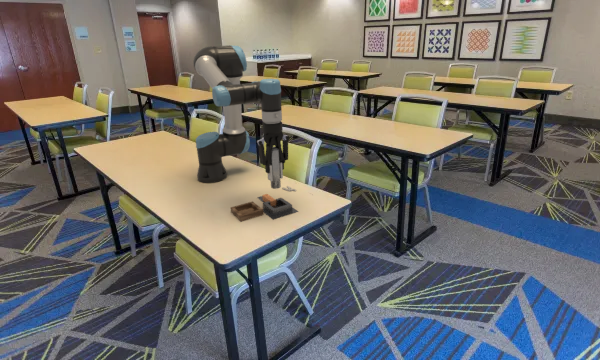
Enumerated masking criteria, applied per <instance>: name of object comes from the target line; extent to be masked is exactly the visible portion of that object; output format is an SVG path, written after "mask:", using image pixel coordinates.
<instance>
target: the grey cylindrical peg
mask: <svg viewBox="0 0 600 360" xmlns="http://www.w3.org/2000/svg"><path fill="white" fill-rule="evenodd" d="M270 165H272V177H273V181H270V188H271V189H275V190H278V189H280V188H281V186H282V185H281V183H282V182H281V178H280V161H279V149H278V147H276V146H273V149H272V152H271V160H270Z"/></svg>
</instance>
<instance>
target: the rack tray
mask: <svg viewBox="0 0 600 360" xmlns="http://www.w3.org/2000/svg"><path fill="white" fill-rule="evenodd" d="M230 213H231V214H232V215H233V216H234V217H236V219H237V220H238V221H240V222H245V221H248V220H251V219H254V218H258V217H261V216H264V215H265V213H264V212H263V207H260V205H258V204H257V203H255V202H254V201H253V200H252V201H249V202H245V203H242V204H239V205H235V206H230Z"/></svg>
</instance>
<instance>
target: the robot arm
mask: <svg viewBox="0 0 600 360" xmlns="http://www.w3.org/2000/svg"><path fill="white" fill-rule="evenodd" d="M194 55H195V56H194V58H193V63H192V64H193V68H194V70H195V72H196V74H198V76H200V77H202V78H203V79H204V80H205V81H206V83H207V84H208V86H209V87H210V88H211V92H212V93H211V96H212V100H213V103H214V105H215V106H216V107H223V116H224V127H223V128H222V130H221V131H222V133H220V134H219V132H218V131H208V132H204V133H202V134H200V135H197V137H196V138H195V148H196V154H197V159H198V160H197V161H198V168H197V173H196V174H197V175H196V176H197V178H196V179H197V181H198V182H199V183H204V184H209V183H210V184H211V183H218V182H221V181H224V180H225V179H227V177H228V171H227V170H226V168H225V166H224V164H223V159H222V158H223V157H229V156H235V155H241V154H245V153H247V152H248V151H249V148H250V144H251V141H250V134H249V132H248V131H247V130H246V128H245V127H244V126H243V118H242V105H248V104H254V103H255V104H256V103H260V106H261V109H260V110H261V120H262V123H261V124H262V133H263V135H262V138H260V139H257V140H256V141H255V142H256V144H257V146H258V153H259V163H260V164H261V165H262V166H264V168H265V173H266V174H267V180H268V181H270V182H271V181H273V177H272V165H270V160H271V152H272V149H273V147H278V149H279V161H280V180H281V179H283V178H284V174H283V170H285V163H286V161H289V140H290V136H289V135H287V134H284V133H283V113H282V111H283V110H282V88H281V81H280V80H279V79H278V78H264V79H263V78H262V79H261V80H260V81H259V80H258V81H257V80H256V81H252V82H248V83H247V82H246V83H241V79H242V78H243V76H244V75H243V72H245V71H247V69H248V68H247V67H248V63H247V62H248V61H247V57H246V55H245V52H244V49H243V48H242V47H241V46H239V45H217V46H205V47H202V48H201V49H199V51H197V52H196V54H194ZM281 142H282V143H281Z"/></svg>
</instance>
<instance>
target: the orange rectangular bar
mask: <svg viewBox="0 0 600 360" xmlns="http://www.w3.org/2000/svg"><path fill="white" fill-rule="evenodd" d="M261 196H262V198H263V201H265V202H267V201H269V202H270V205H271V206H275V205H276V198H274V197H272V196H271V195H269V194H268V193H265V194H262V195H261Z"/></svg>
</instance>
